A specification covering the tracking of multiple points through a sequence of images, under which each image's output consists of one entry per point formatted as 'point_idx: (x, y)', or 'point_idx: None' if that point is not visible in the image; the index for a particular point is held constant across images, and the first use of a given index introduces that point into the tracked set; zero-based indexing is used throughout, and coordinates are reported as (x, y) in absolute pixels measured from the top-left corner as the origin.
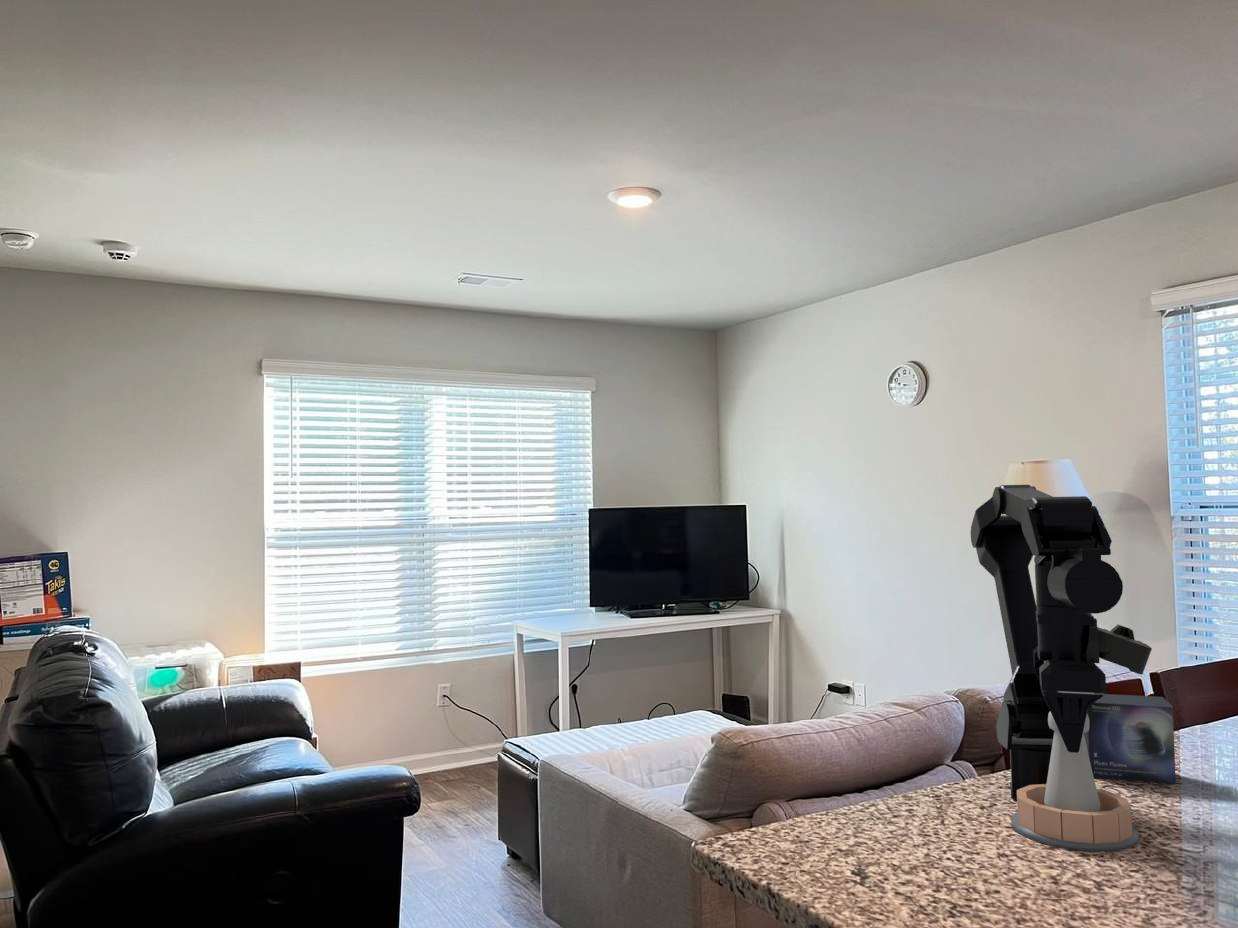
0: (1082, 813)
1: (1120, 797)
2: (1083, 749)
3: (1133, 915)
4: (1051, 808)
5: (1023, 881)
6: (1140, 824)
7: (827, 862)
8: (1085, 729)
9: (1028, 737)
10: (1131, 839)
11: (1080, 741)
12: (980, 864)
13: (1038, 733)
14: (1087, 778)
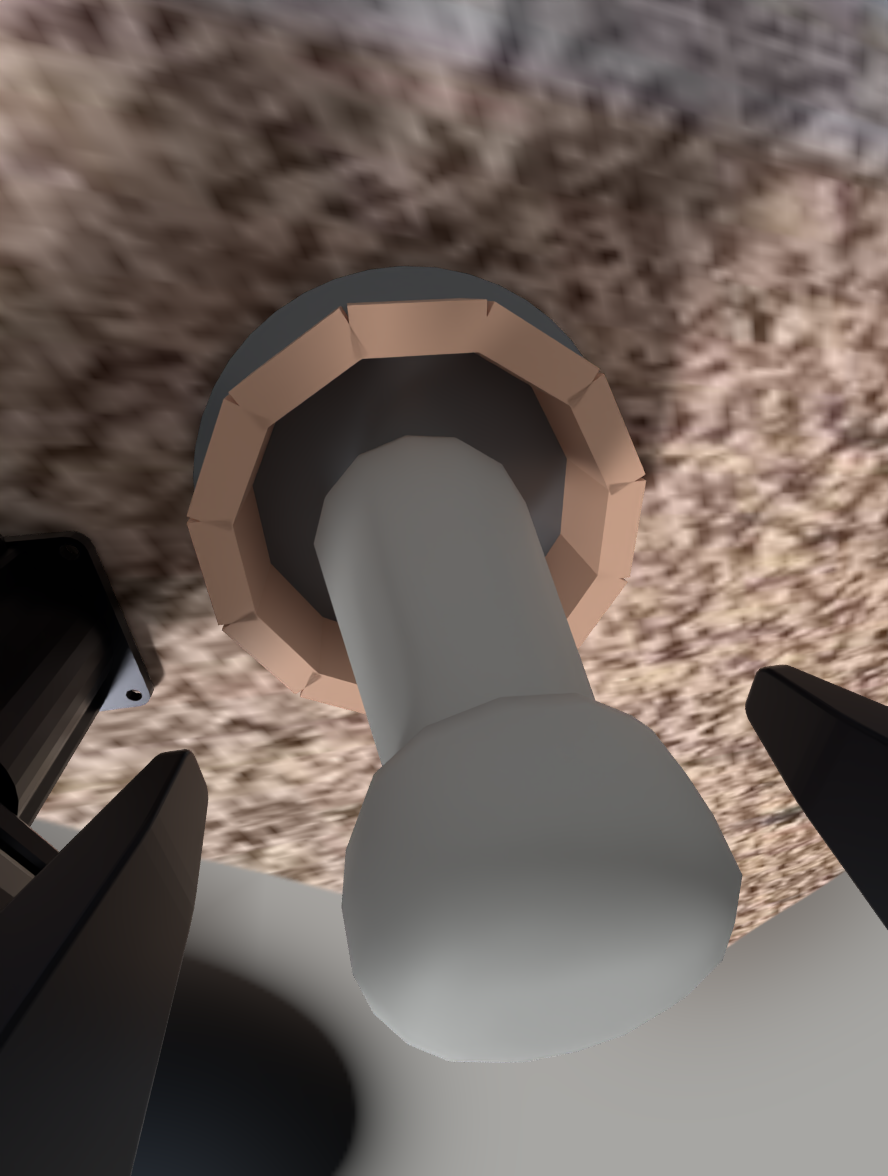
0: (629, 512)
1: (314, 340)
2: (544, 632)
3: None
4: (591, 609)
5: (834, 596)
6: (192, 231)
7: (746, 856)
8: (643, 725)
9: (25, 868)
10: (516, 308)
11: (874, 703)
12: (738, 678)
13: (9, 863)
14: (522, 535)
